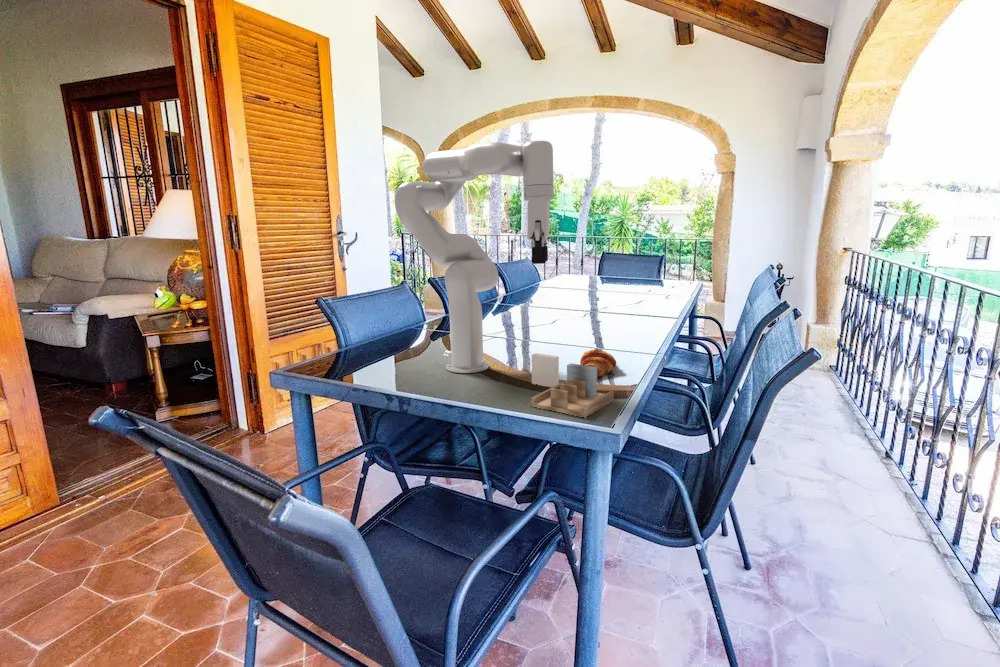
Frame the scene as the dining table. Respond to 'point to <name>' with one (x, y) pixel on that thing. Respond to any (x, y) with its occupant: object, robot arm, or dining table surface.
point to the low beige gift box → (545, 370)
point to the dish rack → (574, 393)
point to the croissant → (599, 361)
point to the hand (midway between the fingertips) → (540, 262)
